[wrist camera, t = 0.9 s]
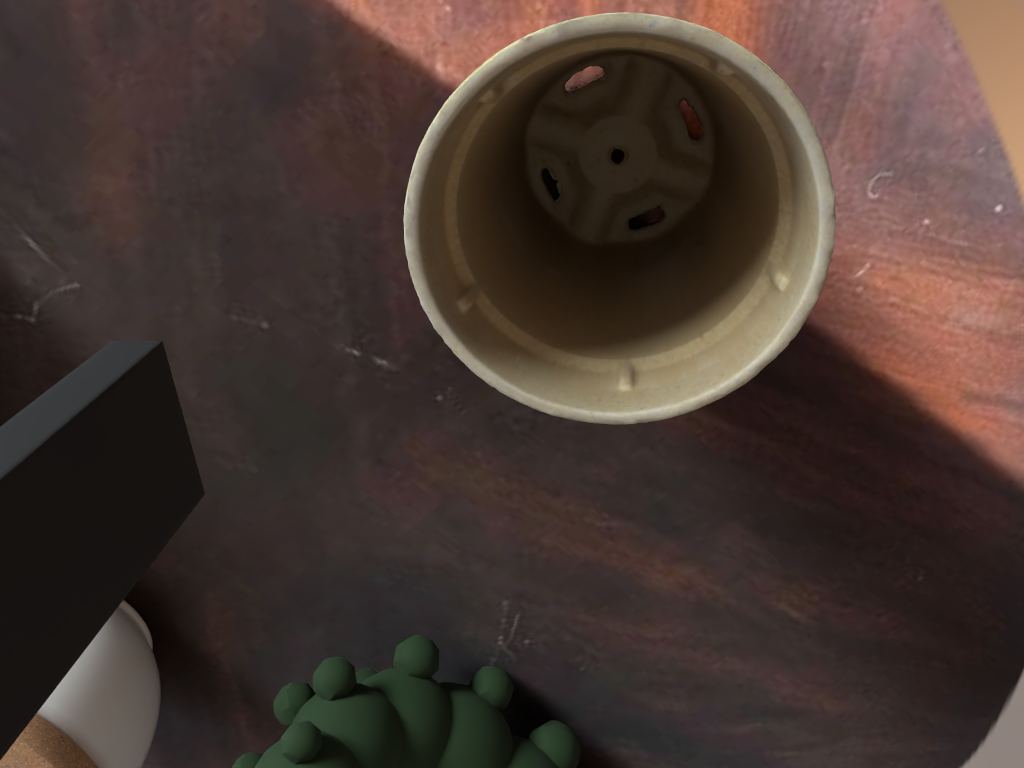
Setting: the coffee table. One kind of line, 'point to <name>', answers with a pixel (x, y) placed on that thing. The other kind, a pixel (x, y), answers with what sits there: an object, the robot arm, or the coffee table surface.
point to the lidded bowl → (98, 705)
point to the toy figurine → (406, 720)
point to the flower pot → (620, 219)
